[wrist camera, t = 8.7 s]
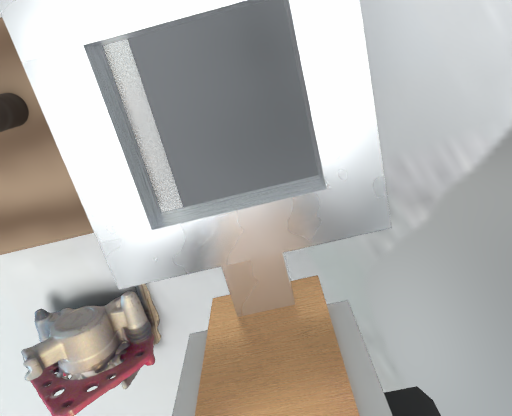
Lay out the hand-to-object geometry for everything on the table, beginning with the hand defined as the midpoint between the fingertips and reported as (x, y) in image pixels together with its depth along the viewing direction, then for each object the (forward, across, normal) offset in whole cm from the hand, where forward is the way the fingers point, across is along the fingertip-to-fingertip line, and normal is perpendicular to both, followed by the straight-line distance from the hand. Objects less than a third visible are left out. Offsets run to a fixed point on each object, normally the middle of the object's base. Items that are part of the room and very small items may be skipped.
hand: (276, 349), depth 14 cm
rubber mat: (+23, 0, -6) cm, 24 cm away
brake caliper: (+24, +19, +12) cm, 32 cm away
